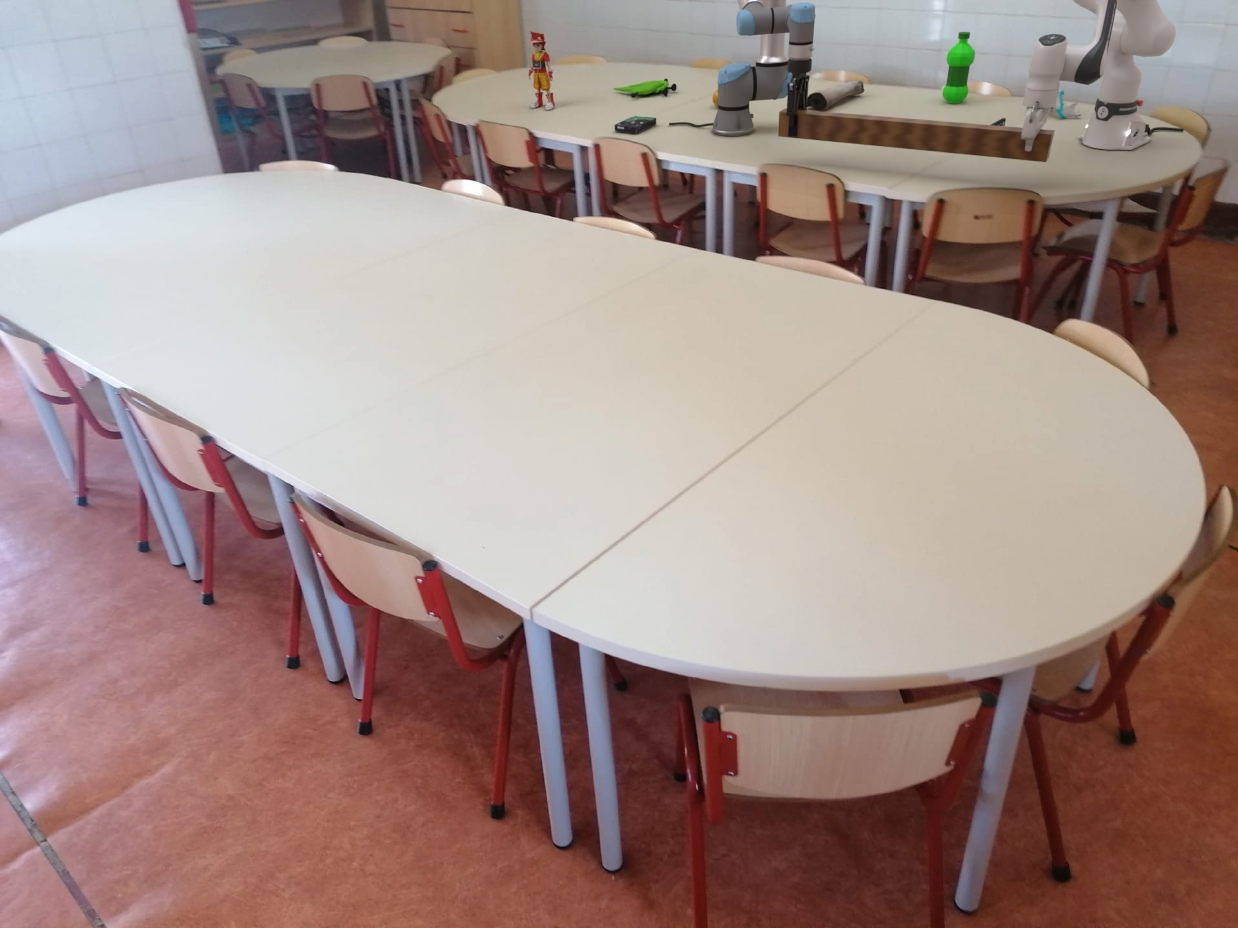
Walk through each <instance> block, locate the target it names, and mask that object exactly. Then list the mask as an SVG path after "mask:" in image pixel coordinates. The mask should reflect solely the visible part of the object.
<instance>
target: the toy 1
mask: <svg viewBox="0 0 1238 928" xmlns="http://www.w3.org/2000/svg"><path fill="white" fill-rule="evenodd" d="M529 33H530V35H531V36H528V37H527V38H528V39H529V40H528V41H527V43H529V44H530V43H531V44H532V48H533V50H534V51H533V52H532V55H531V58H530V59H531V63H530V66H528V74H527V75H528V76H527V77H528V79H529V80H531V75H532V74H533V84H532V85H533V86H532V87H533V88H534V89H535V90H536V92H534V95H535V97H536V100H535V101H533V102H531V105H530V108H531V109H535V108H538V107H542V106H544V101H543V100H544V99H543V95H544V92H546V94H545V97H546V99H547V103H546V104H545V106H544V110H546V111H549V110H553V109H554V107H555V106H556V105H555V99H554V92H551V91H550V90H551V86H552V84H551V82H552V81H553V80H554V77H553V73H554V71H555V70H554V69H552V68H551V63H550V61H551V59H550V58H551V57H550V54H549V53H548V52H547V50H546V48H545V46H546V44H547V41H545V35H544V33H543V32H542V33H539V32H535V31H529Z"/></svg>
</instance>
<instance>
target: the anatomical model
mask: <svg viewBox="0 0 1238 928" xmlns="http://www.w3.org/2000/svg"><path fill="white" fill-rule="evenodd" d="M1064 95H1065V91H1064V89H1063V90H1061V88H1059V92H1058V97H1057V101H1056V105H1055V106H1053V107H1051V109H1050V111H1053V110H1055V112H1057V115H1058V116H1059V118H1060V119H1068V118H1071V117H1075V118H1077V117H1081V115H1082V113H1081V112H1076V110H1075V108H1076V106H1077V105H1078V104H1079V103H1078V102H1072V103H1071V104H1069V105H1065V103H1066V102H1064V98H1063V96H1064Z"/></svg>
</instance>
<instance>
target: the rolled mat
mask: <svg viewBox="0 0 1238 928" xmlns="http://www.w3.org/2000/svg"><path fill="white" fill-rule="evenodd" d="M864 87H865V85H864V82H863V80H858V79H851V80H846V81H843V82H840V83H838V84H835V85H832V86H829V87H826V88H823V89H820V90H817V91H814V92H812V93H810V94H808V99H807V107H806V108H807V109H808V108H813V109H814V111H822V112H825V111H826V110H827V109H828V108H830V107H831V106H832V105H834V104H836V103H837V102H838V101H840V100H842V99H844V98H845V97H848V96H858V95H862V94H863V93H864V92H865V88H864Z"/></svg>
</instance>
